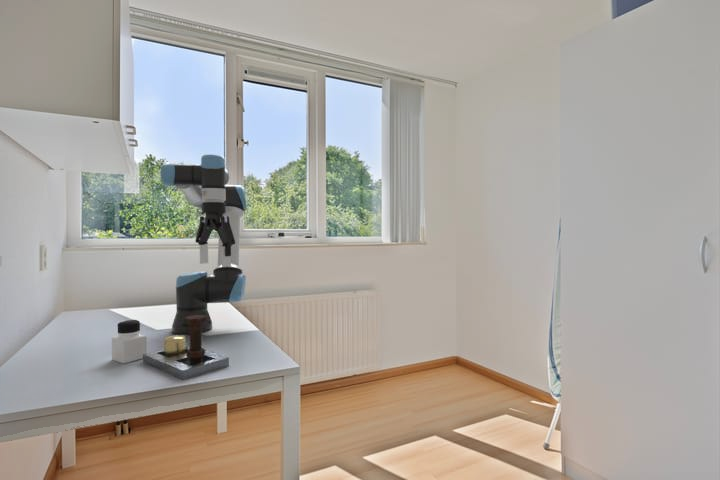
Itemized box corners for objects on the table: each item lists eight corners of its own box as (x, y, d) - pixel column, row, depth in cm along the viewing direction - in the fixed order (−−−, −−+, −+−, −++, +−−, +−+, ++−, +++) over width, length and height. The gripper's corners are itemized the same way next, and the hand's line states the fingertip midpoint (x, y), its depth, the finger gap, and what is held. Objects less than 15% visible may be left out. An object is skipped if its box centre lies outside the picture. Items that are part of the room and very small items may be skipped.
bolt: (197, 372, 112) (197, 319, 112) (181, 370, 113) (181, 318, 113) (209, 365, 118) (208, 315, 118) (194, 364, 119) (193, 314, 119)
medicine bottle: (146, 357, 126) (146, 320, 126) (123, 364, 120) (122, 324, 120) (135, 354, 130) (134, 317, 130) (111, 360, 124) (111, 321, 124)
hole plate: (142, 362, 121) (142, 339, 121) (186, 351, 132) (186, 330, 132) (183, 379, 106) (182, 353, 106) (228, 365, 117) (228, 342, 117)
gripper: (184, 202, 138) (185, 263, 139) (225, 200, 123) (226, 268, 124) (204, 203, 144) (205, 261, 145) (245, 201, 128) (246, 266, 130)
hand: (215, 264), depth 134 cm, fingers open, 13 cm apart
